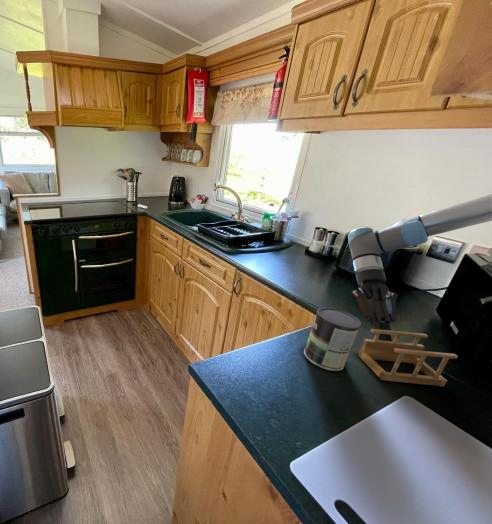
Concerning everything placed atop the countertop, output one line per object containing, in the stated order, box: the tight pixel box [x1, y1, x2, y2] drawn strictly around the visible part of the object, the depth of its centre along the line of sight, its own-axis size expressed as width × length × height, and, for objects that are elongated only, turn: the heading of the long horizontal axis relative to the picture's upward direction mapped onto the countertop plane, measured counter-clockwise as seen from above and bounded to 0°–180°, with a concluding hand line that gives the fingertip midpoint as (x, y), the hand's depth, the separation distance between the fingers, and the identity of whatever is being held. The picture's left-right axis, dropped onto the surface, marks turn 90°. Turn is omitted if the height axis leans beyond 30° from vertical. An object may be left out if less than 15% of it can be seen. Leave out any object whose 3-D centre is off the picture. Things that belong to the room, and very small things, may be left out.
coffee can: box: [303, 306, 362, 372], centre depth 81 cm, size 10×10×14 cm
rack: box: [357, 328, 459, 387], centre depth 79 cm, size 10×16×10 cm, turn 86°
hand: (386, 345), depth 85 cm, fingers closed
